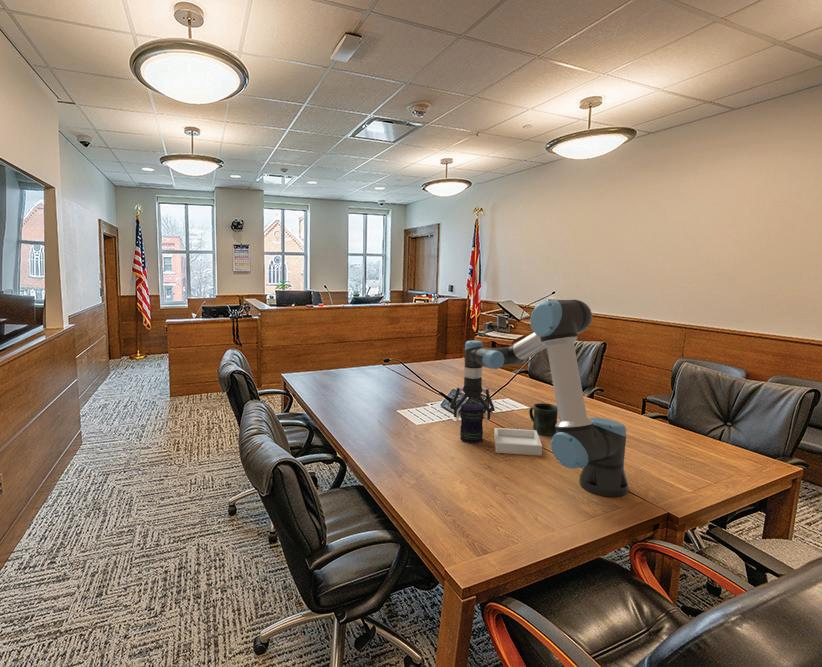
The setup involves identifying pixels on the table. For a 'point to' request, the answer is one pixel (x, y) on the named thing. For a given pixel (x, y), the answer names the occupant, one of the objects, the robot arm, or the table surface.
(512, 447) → the tray
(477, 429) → the dark blue canister
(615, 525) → the table surface
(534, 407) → the mug
